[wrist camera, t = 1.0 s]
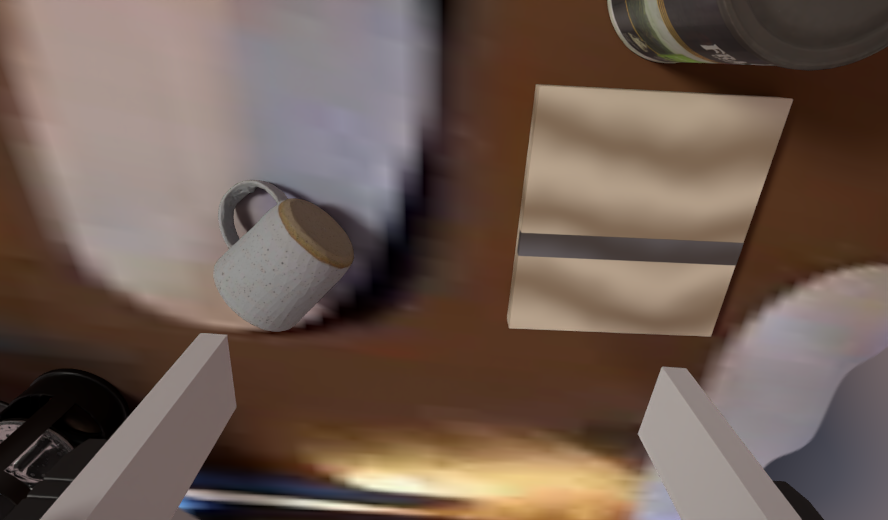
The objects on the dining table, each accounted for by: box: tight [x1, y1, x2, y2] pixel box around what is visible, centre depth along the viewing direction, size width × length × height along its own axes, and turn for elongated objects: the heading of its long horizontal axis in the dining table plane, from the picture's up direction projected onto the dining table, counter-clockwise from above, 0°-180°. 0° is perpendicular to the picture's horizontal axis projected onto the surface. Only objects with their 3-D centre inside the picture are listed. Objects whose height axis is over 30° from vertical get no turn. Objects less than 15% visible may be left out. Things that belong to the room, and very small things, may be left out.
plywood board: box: [507, 84, 793, 337], centre depth 37 cm, size 20×18×2 cm
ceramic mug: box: [214, 180, 354, 331], centre depth 35 cm, size 11×8×8 cm
